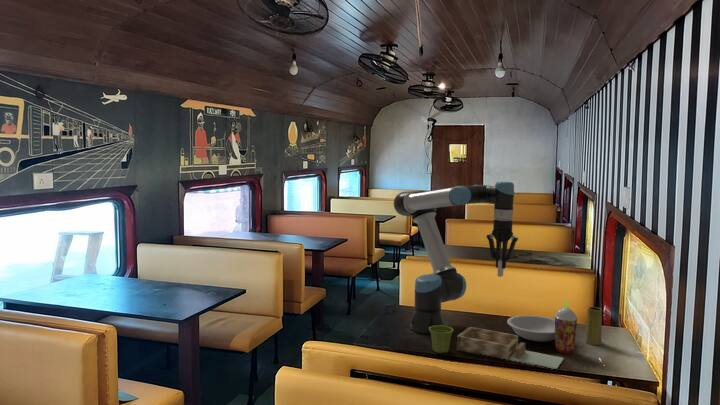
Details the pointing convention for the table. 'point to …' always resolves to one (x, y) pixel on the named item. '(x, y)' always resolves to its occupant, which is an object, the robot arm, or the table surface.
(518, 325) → the soup bowl
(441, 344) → the plant pot
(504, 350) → the box
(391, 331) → the table surface
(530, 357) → the cover plate
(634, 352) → the table surface
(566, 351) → the smoothie
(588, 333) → the vase
